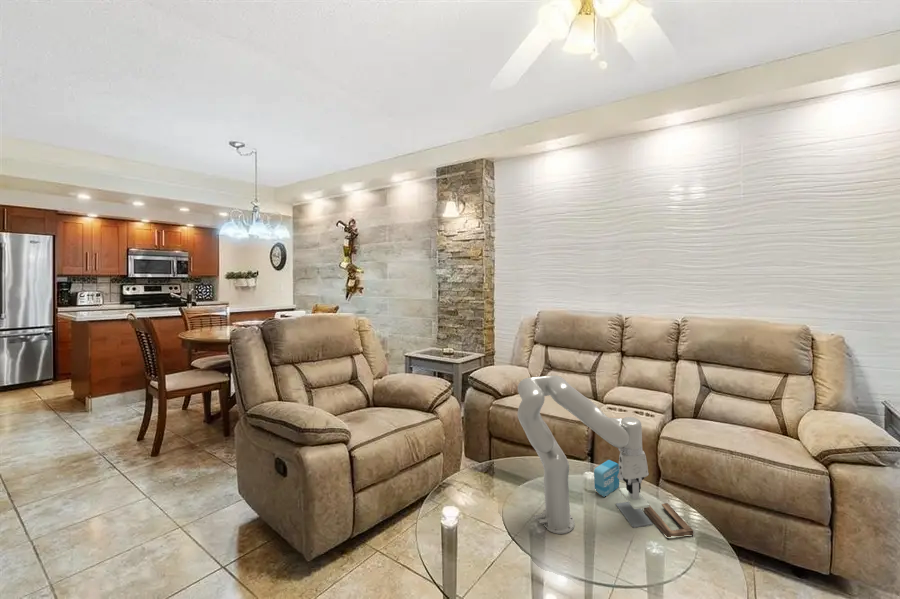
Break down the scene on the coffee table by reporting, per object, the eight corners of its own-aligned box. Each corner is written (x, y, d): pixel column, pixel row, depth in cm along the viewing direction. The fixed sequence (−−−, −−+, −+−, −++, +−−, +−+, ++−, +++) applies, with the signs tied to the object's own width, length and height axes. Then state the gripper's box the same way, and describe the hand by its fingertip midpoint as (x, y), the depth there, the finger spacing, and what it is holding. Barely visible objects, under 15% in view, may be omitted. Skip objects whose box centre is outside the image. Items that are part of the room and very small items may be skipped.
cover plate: (634, 509, 158) (633, 490, 157) (619, 490, 170) (618, 472, 169) (649, 507, 159) (648, 487, 157) (633, 488, 170) (632, 470, 169)
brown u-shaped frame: (667, 539, 151) (667, 534, 151) (644, 511, 167) (643, 506, 166) (693, 535, 152) (693, 530, 151) (667, 507, 167) (667, 503, 167)
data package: (603, 498, 177) (602, 473, 175) (594, 493, 181) (593, 468, 179) (619, 486, 183) (618, 462, 182) (610, 482, 187) (609, 458, 185)
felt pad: (633, 527, 158) (632, 526, 158) (615, 504, 172) (615, 503, 172) (652, 525, 159) (652, 523, 159) (634, 502, 173) (633, 500, 172)
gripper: (616, 456, 157) (618, 500, 160) (656, 450, 158) (658, 494, 161) (607, 446, 164) (609, 488, 167) (646, 441, 165) (647, 482, 168)
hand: (633, 490), depth 164 cm, fingers closed on cover plate, 2 cm apart
